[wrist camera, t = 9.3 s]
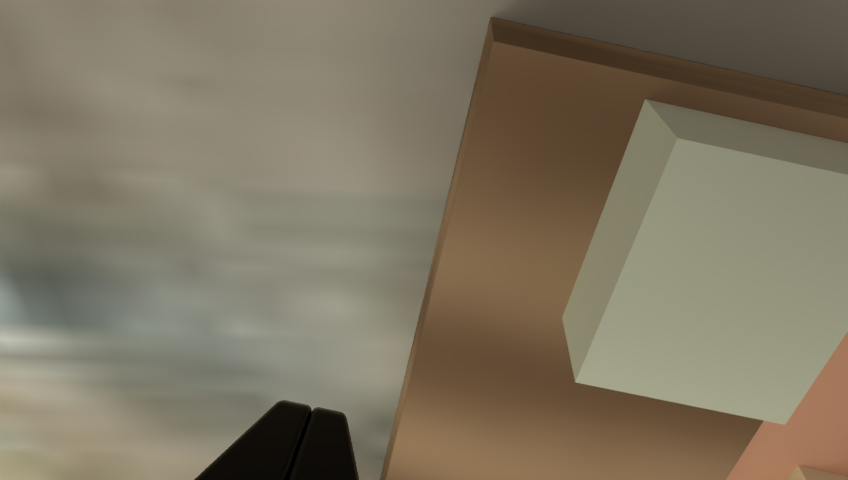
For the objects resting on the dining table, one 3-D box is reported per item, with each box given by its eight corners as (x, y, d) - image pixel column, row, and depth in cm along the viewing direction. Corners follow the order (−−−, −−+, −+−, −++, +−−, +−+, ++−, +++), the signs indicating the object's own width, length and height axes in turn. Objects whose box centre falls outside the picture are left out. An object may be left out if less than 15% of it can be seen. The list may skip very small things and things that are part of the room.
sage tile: (744, 355, 17) (784, 425, 14) (562, 317, 16) (575, 382, 14) (865, 147, 14) (938, 194, 12) (645, 99, 14) (677, 137, 11)
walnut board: (625, 534, 25) (642, 609, 22) (378, 486, 25) (367, 557, 22) (868, 100, 16) (943, 140, 14) (490, 17, 16) (493, 41, 13)
